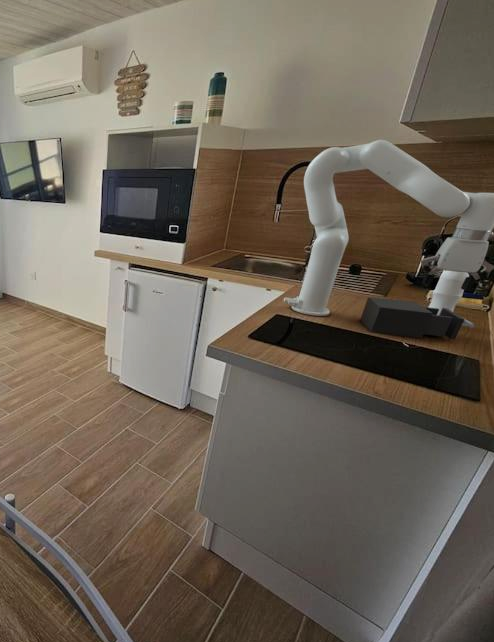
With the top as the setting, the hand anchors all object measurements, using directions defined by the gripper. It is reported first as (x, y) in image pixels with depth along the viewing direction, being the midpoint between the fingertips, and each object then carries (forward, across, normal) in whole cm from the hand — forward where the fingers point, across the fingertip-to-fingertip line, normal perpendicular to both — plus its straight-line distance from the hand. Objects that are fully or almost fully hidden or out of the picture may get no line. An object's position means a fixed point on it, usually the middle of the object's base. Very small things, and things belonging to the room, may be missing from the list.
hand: (444, 287), depth 121 cm
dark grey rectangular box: (+17, +9, 0) cm, 19 cm away
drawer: (+15, -2, 0) cm, 15 cm away
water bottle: (+16, -9, -15) cm, 24 cm away
